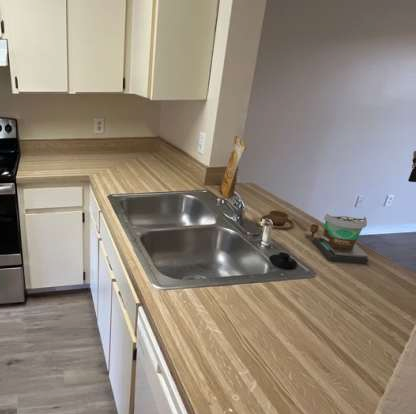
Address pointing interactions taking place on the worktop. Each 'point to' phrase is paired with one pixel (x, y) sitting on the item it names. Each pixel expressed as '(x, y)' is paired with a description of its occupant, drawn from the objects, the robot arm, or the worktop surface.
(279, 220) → the place setting
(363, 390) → the worktop surface
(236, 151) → the pancake mix bag
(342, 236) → the food container
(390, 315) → the worktop surface
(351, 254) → the pan
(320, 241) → the scale
